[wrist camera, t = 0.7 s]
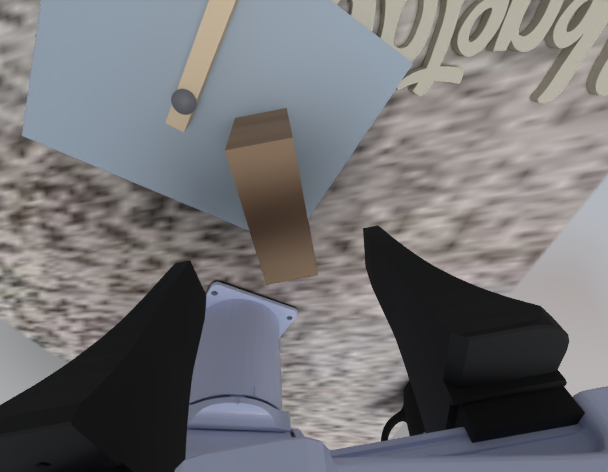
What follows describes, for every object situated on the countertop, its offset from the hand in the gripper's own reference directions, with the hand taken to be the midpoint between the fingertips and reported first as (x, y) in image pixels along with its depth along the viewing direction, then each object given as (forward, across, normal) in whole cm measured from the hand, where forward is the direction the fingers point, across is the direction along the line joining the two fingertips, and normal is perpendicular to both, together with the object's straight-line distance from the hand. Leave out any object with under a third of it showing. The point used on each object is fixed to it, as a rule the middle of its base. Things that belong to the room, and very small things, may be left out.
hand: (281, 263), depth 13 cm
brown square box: (+9, 0, 0) cm, 9 cm away
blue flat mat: (+10, +2, -5) cm, 11 cm away
